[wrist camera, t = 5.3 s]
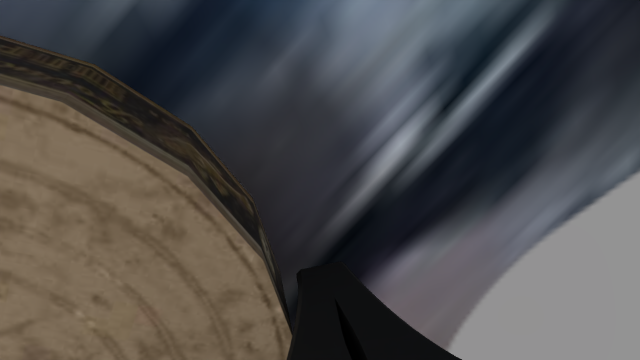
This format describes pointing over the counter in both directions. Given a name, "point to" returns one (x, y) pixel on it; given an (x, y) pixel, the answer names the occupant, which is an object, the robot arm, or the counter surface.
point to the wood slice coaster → (122, 227)
